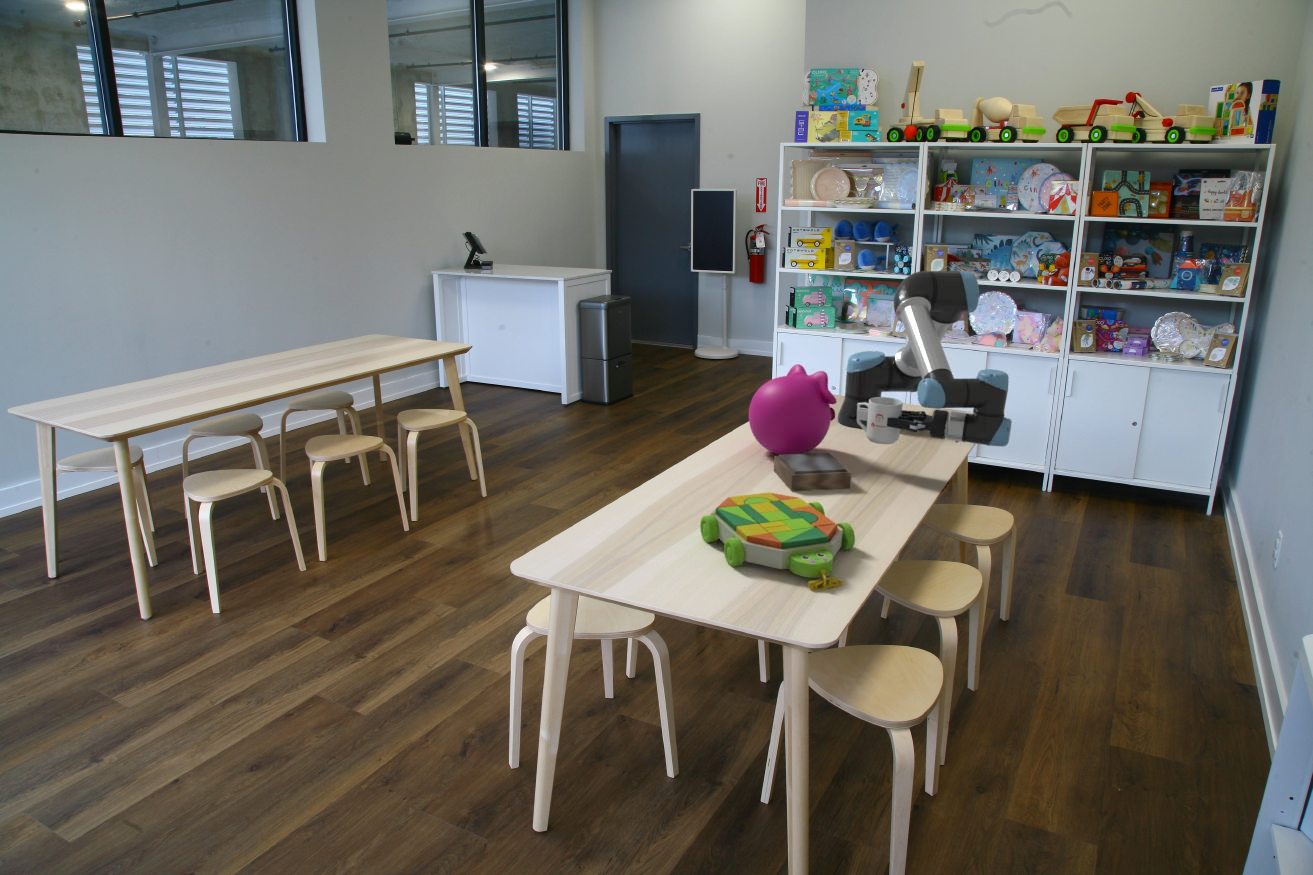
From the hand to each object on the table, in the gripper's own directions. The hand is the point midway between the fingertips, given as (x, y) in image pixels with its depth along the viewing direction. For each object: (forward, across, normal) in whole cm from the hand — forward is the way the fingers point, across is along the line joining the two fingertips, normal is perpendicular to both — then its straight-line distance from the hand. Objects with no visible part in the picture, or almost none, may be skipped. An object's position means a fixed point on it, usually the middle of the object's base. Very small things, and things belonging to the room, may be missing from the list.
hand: (858, 413), depth 234 cm
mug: (-5, 0, -7) cm, 9 cm away
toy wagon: (+2, -61, -16) cm, 63 cm away
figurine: (+20, +4, -16) cm, 26 cm away
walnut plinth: (+8, -16, -16) cm, 23 cm away
